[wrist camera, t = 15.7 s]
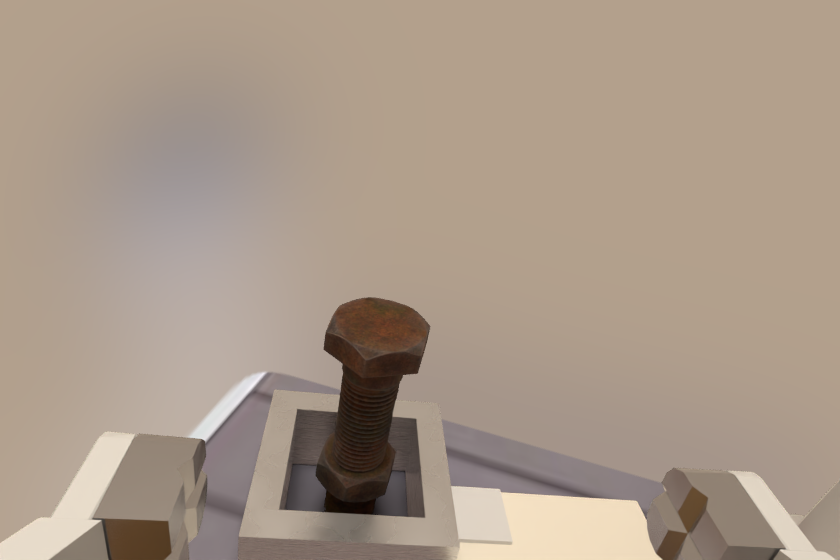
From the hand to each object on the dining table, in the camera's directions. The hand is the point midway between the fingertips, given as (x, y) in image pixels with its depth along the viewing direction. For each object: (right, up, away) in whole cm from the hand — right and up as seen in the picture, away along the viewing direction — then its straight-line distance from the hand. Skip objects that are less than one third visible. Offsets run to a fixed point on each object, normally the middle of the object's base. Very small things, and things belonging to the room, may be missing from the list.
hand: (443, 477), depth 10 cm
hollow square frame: (-5, -12, +27) cm, 30 cm away
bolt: (-5, -12, +27) cm, 30 cm away
